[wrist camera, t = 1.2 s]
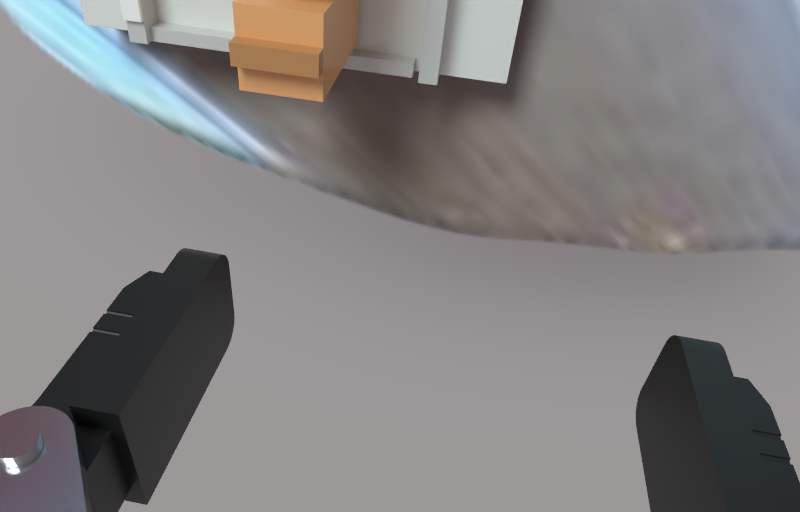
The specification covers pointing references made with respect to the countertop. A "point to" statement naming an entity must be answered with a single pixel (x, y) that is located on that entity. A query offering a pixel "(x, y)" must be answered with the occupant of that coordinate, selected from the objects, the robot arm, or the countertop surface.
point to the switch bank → (377, 32)
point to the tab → (292, 45)
